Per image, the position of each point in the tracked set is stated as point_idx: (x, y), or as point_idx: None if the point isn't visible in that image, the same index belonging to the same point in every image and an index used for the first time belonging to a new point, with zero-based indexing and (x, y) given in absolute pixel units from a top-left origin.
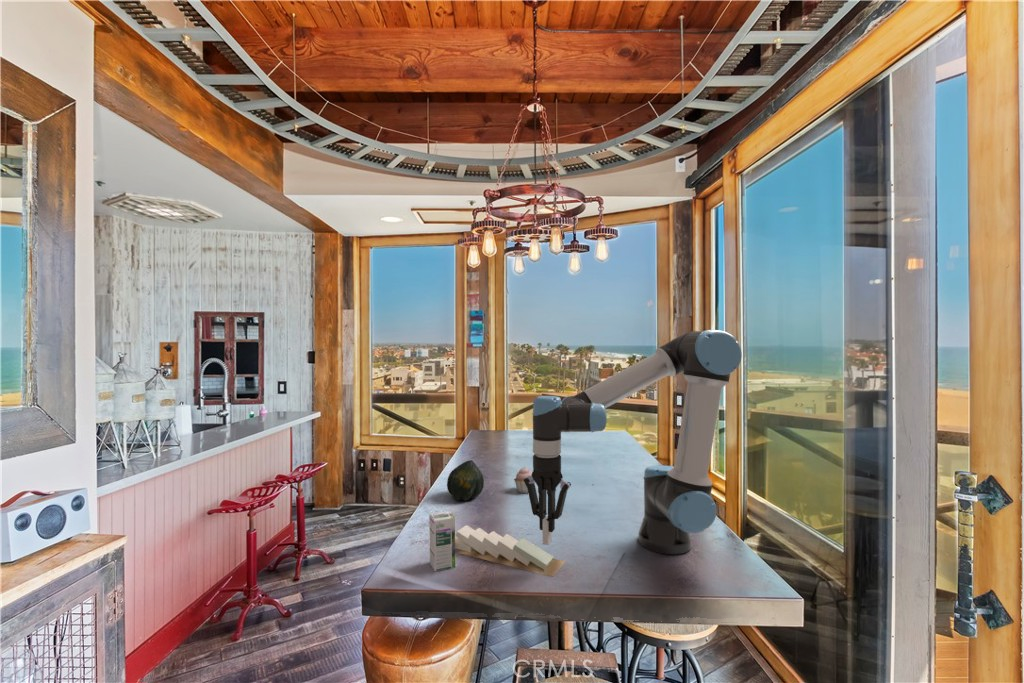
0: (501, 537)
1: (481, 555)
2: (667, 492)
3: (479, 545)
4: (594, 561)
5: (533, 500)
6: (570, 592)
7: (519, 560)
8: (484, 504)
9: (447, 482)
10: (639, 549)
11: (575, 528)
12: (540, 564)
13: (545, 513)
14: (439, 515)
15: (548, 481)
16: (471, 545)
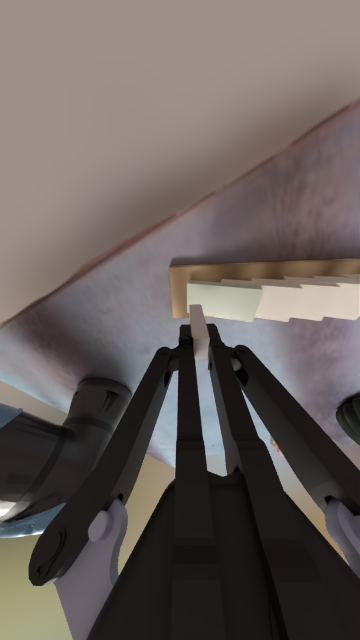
0: (294, 314)
1: (316, 272)
2: None
3: (335, 279)
4: (145, 339)
5: (268, 390)
6: (130, 248)
7: (239, 280)
8: (324, 397)
9: None
10: (118, 377)
11: (198, 388)
12: (198, 282)
13: (210, 363)
14: None
15: (200, 636)
16: (351, 278)
